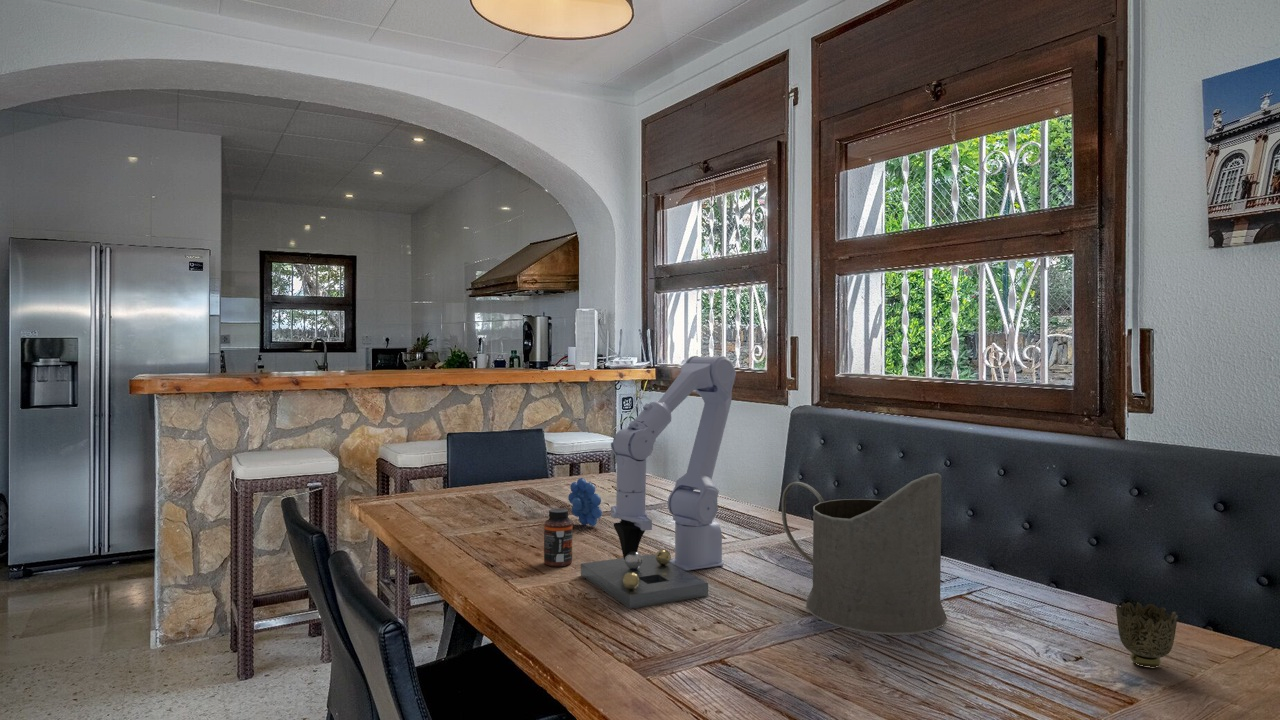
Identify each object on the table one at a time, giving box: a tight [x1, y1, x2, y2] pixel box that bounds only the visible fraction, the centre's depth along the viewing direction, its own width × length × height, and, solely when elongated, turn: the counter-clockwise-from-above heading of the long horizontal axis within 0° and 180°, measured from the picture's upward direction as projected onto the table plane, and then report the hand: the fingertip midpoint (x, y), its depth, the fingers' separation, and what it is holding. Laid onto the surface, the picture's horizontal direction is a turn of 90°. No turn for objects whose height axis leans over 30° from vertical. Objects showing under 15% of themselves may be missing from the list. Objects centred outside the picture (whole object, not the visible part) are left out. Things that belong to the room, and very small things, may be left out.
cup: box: [1114, 601, 1179, 667], centre depth 109 cm, size 8×7×8 cm
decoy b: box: [623, 572, 639, 589], centre depth 135 cm, size 3×3×3 cm
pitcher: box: [781, 472, 948, 636], centre depth 135 cm, size 23×32×25 cm
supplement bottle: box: [543, 508, 574, 568], centre depth 160 cm, size 6×6×11 cm
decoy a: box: [655, 549, 672, 565], centre depth 151 cm, size 3×3×3 cm
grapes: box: [567, 477, 603, 527], centre depth 195 cm, size 12×7×12 cm, turn 48°
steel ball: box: [625, 551, 642, 569], centre depth 148 cm, size 3×3×3 cm
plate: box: [580, 553, 709, 610], centre depth 145 cm, size 16×22×2 cm
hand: (629, 559), depth 149 cm, fingers closed, pressing on steel ball
